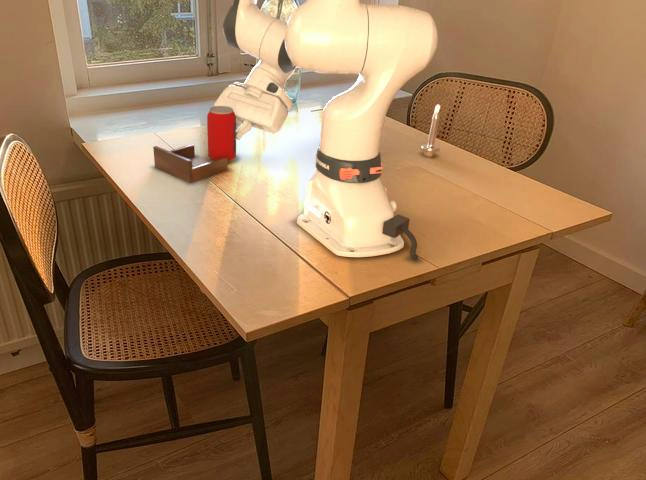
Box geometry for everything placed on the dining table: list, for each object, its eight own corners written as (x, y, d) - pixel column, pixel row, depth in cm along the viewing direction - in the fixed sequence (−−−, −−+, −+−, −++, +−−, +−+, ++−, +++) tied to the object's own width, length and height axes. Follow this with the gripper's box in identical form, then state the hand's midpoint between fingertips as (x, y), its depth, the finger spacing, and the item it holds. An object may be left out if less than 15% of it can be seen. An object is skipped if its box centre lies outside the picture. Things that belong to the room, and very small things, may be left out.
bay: (192, 155, 142) (191, 135, 139) (227, 170, 135) (227, 149, 133) (154, 167, 135) (153, 146, 132) (190, 183, 128) (188, 161, 125)
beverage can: (241, 158, 142) (242, 109, 135) (222, 165, 137) (222, 115, 131) (221, 151, 145) (220, 103, 139) (202, 158, 141) (200, 108, 134)
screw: (442, 155, 150) (430, 159, 147) (427, 150, 153) (415, 154, 150) (452, 105, 143) (440, 108, 140) (436, 100, 146) (424, 103, 143)
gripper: (226, 73, 145) (197, 119, 145) (287, 90, 134) (256, 141, 133) (238, 88, 151) (211, 133, 150) (298, 106, 140) (269, 155, 139)
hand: (233, 137), depth 142 cm, fingers closed, pressing on beverage can
